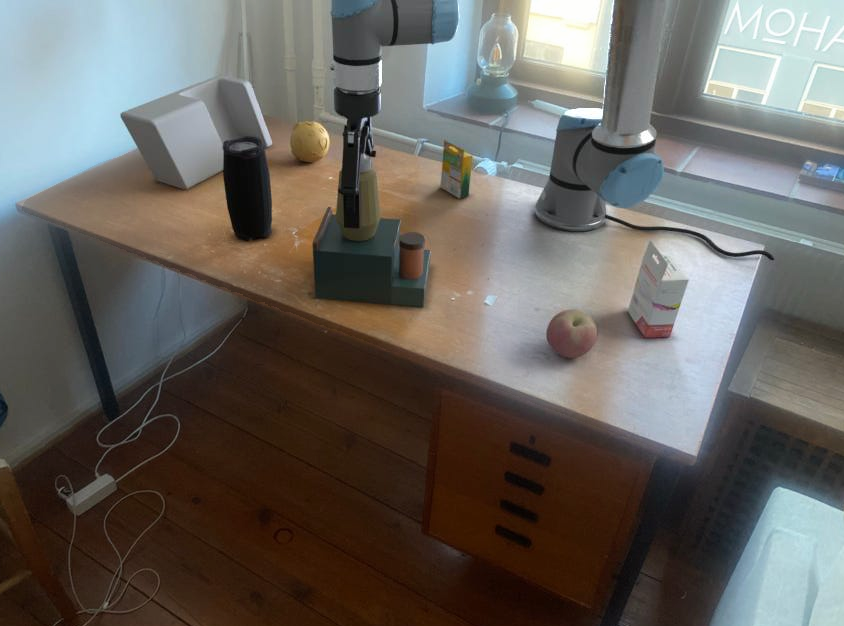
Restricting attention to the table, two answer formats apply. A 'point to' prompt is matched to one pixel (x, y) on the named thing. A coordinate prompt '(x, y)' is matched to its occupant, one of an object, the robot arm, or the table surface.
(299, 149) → the stress ball
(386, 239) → the dark green stepped block
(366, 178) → the squeeze bottle
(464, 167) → the crayon box
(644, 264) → the ink cartridge box
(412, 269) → the spice jar
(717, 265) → the table surface
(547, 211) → the robot arm
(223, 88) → the bracket
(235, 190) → the portable speaker
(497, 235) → the table surface
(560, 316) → the apple
